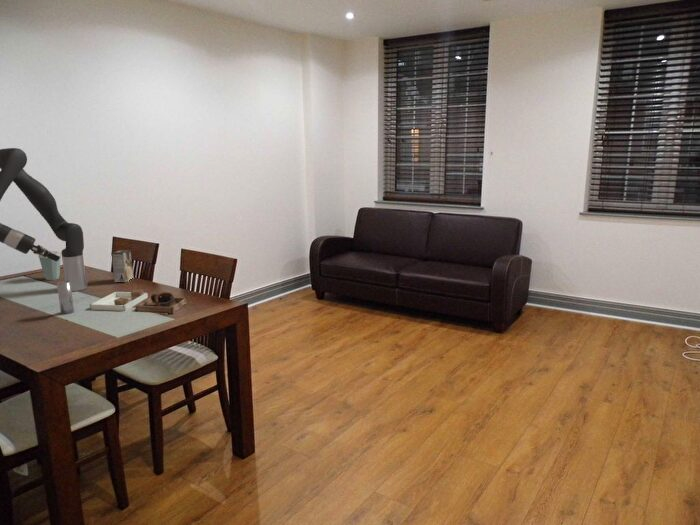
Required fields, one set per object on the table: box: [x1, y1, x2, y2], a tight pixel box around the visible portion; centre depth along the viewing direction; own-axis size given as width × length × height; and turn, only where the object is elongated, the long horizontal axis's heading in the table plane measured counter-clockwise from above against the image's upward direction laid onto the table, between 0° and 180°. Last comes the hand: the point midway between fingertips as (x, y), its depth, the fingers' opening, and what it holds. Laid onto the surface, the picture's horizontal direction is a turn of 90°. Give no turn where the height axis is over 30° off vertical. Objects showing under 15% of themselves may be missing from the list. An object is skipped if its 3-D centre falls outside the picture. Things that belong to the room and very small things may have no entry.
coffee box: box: [111, 249, 135, 283], centre depth 268 cm, size 9×6×16 cm
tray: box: [89, 291, 149, 312], centre depth 228 cm, size 20×16×3 cm
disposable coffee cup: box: [38, 250, 62, 281], centre depth 271 cm, size 11×11×15 cm
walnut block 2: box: [130, 289, 144, 300], centre depth 234 cm, size 4×4×4 cm
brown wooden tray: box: [135, 296, 188, 314], centre depth 224 cm, size 15×17×3 cm
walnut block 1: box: [114, 298, 129, 305], centre depth 221 cm, size 4×4×4 cm
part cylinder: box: [56, 280, 75, 315], centre depth 214 cm, size 5×5×14 cm
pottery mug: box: [150, 291, 176, 307], centre depth 224 cm, size 12×10×8 cm
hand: (58, 259), depth 221 cm, fingers open, 8 cm apart
